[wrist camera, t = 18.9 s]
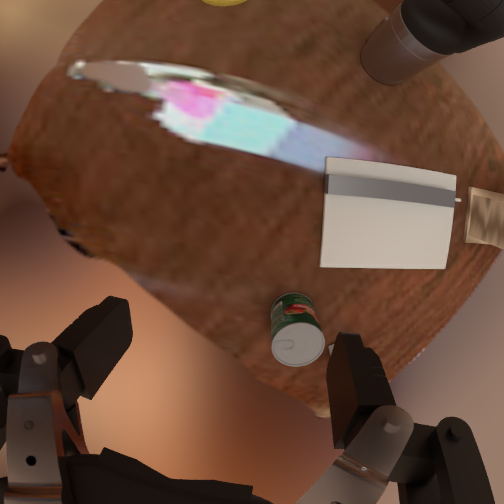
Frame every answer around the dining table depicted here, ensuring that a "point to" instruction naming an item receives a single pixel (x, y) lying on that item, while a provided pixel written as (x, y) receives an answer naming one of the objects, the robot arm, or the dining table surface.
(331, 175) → the dark grey block
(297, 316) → the canned tomato
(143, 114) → the dining table surface
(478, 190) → the birch stand
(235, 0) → the handbell
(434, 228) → the off-white board
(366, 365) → the robot arm
